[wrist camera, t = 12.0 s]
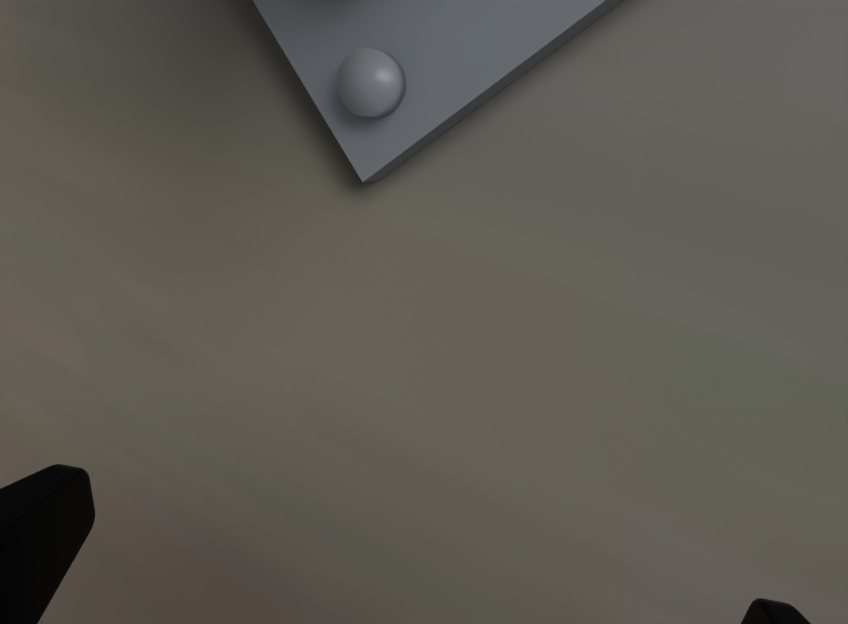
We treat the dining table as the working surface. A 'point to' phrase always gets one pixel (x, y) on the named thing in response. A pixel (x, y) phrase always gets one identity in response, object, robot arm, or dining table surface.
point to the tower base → (414, 62)
